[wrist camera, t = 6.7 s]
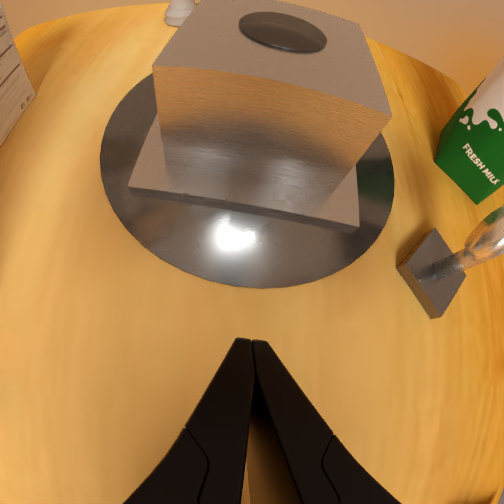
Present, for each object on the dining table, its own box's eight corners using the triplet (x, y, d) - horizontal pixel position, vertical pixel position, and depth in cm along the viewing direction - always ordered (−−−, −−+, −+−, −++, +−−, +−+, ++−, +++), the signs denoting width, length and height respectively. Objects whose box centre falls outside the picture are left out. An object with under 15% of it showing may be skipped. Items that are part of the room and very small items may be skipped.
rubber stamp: (430, 319, 18) (534, 291, 9) (396, 268, 19) (496, 214, 10) (456, 279, 20) (544, 241, 11) (425, 233, 20) (509, 177, 12)
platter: (223, 370, 15) (223, 371, 15) (65, 115, 19) (65, 114, 19) (432, 182, 23) (433, 182, 22) (272, 36, 26) (272, 35, 26)
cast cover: (351, 233, 19) (435, 160, 10) (131, 195, 17) (92, 90, 9) (340, 94, 24) (377, 23, 15) (187, 64, 22) (190, -18, 14)
